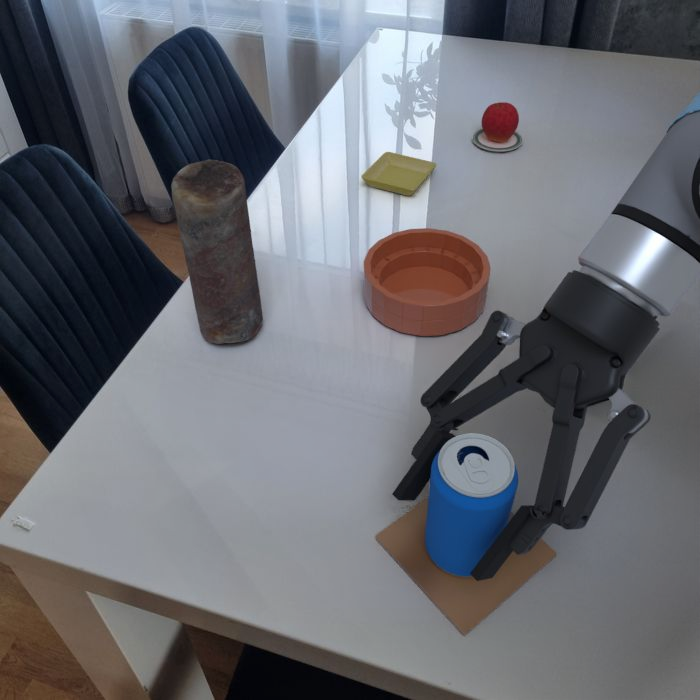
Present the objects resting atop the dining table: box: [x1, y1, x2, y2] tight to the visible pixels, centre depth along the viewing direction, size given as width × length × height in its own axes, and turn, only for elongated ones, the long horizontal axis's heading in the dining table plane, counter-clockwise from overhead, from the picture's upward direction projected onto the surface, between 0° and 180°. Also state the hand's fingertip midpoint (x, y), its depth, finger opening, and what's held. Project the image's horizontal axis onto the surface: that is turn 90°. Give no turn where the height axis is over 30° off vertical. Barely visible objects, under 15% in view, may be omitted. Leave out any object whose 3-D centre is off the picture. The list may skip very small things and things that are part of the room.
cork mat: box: [375, 496, 558, 637], centre depth 59 cm, size 11×11×1 cm
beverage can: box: [425, 432, 519, 577], centre depth 54 cm, size 6×6×12 cm
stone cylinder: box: [170, 158, 264, 345], centre depth 73 cm, size 8×7×20 cm
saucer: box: [360, 151, 438, 197], centre depth 101 cm, size 9×9×2 cm
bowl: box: [363, 227, 491, 337], centre depth 81 cm, size 15×15×5 cm
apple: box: [471, 101, 524, 153], centre depth 107 cm, size 8×8×6 cm
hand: (440, 534), depth 54 cm, fingers open, 8 cm apart
